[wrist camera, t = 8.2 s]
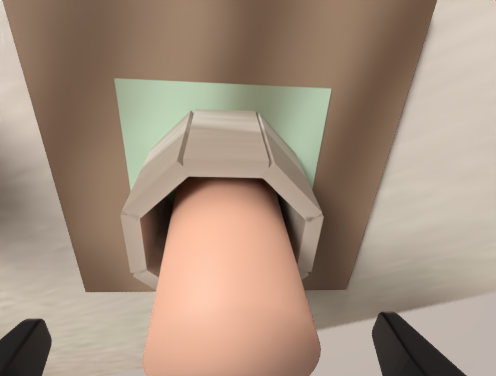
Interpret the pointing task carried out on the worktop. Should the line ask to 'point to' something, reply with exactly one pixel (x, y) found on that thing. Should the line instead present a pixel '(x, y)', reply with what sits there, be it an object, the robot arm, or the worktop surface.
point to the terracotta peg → (229, 287)
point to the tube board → (216, 116)
